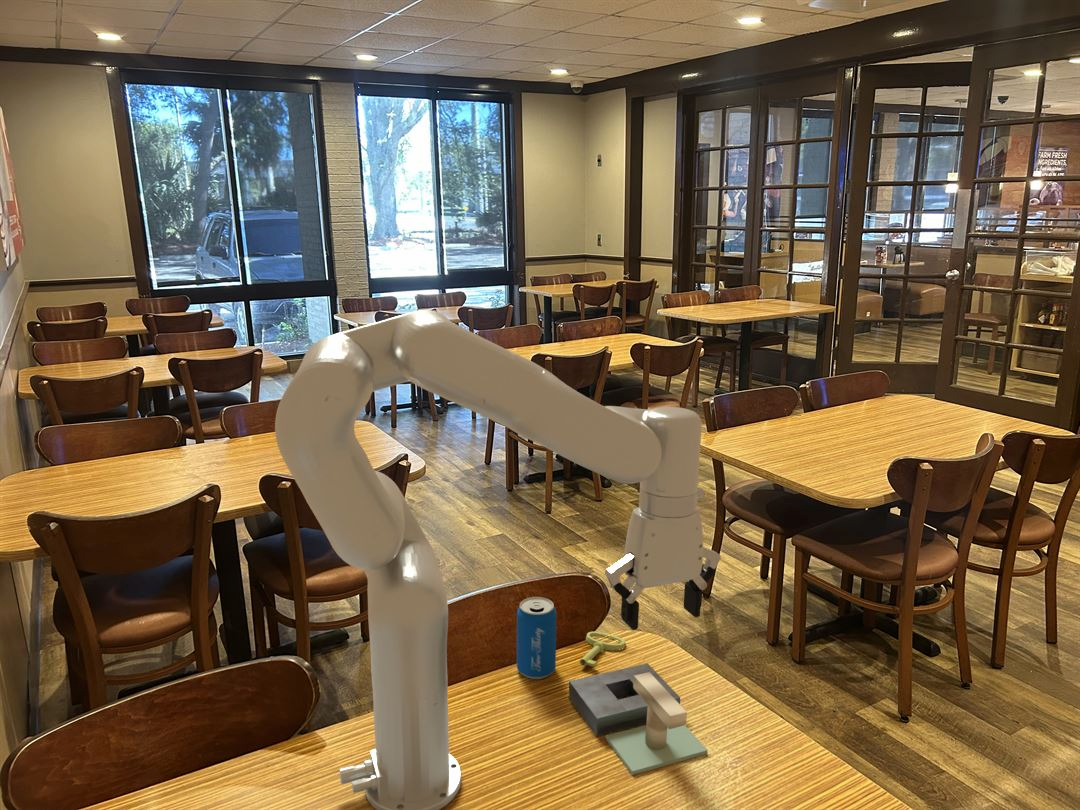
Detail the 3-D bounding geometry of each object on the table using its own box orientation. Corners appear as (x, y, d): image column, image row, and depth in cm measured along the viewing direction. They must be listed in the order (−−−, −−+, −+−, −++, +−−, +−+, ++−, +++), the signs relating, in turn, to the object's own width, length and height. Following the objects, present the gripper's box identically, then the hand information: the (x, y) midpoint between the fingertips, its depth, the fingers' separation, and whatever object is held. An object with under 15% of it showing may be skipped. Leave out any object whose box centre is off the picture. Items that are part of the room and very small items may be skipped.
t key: (629, 723, 114) (632, 675, 112) (647, 719, 115) (650, 671, 113) (664, 767, 105) (669, 716, 103) (683, 762, 106) (688, 711, 104)
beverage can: (517, 681, 125) (517, 615, 122) (516, 660, 131) (516, 595, 129) (556, 681, 125) (557, 614, 123) (554, 659, 132) (555, 595, 129)
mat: (632, 775, 104) (632, 771, 104) (605, 739, 111) (605, 735, 111) (707, 753, 108) (707, 749, 108) (677, 720, 116) (677, 716, 116)
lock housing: (596, 736, 112) (597, 718, 111) (568, 698, 121) (569, 681, 120) (679, 715, 117) (680, 697, 116) (646, 679, 126) (647, 663, 125)
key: (578, 672, 129) (579, 660, 128) (587, 634, 140) (587, 624, 140) (621, 677, 127) (622, 665, 127) (626, 638, 139) (627, 628, 139)
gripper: (707, 485, 108) (699, 596, 112) (596, 499, 102) (592, 616, 105) (739, 502, 101) (730, 620, 105) (622, 519, 95) (617, 644, 99)
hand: (661, 618), depth 105 cm, fingers open, 9 cm apart
